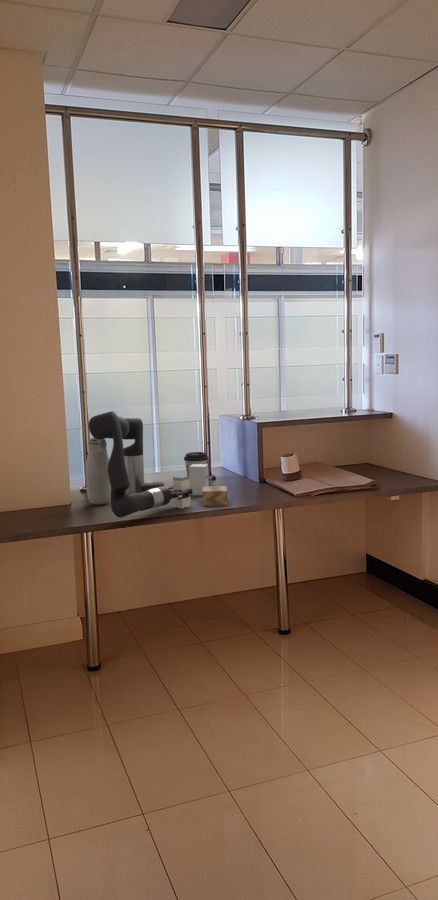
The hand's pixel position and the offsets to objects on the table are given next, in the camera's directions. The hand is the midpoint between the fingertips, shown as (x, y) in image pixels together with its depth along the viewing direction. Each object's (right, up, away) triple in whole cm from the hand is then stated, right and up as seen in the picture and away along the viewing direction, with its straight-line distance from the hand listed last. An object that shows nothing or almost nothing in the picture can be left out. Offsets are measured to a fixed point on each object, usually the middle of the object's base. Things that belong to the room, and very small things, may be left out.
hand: (183, 490), depth 285 cm
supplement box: (+6, -3, +23) cm, 24 cm away
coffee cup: (+4, -1, +40) cm, 40 cm away
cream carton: (-1, -7, 0) cm, 7 cm away
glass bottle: (-35, -7, +8) cm, 36 cm away
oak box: (+13, -6, +5) cm, 15 cm away
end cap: (-14, -5, +17) cm, 23 cm away
